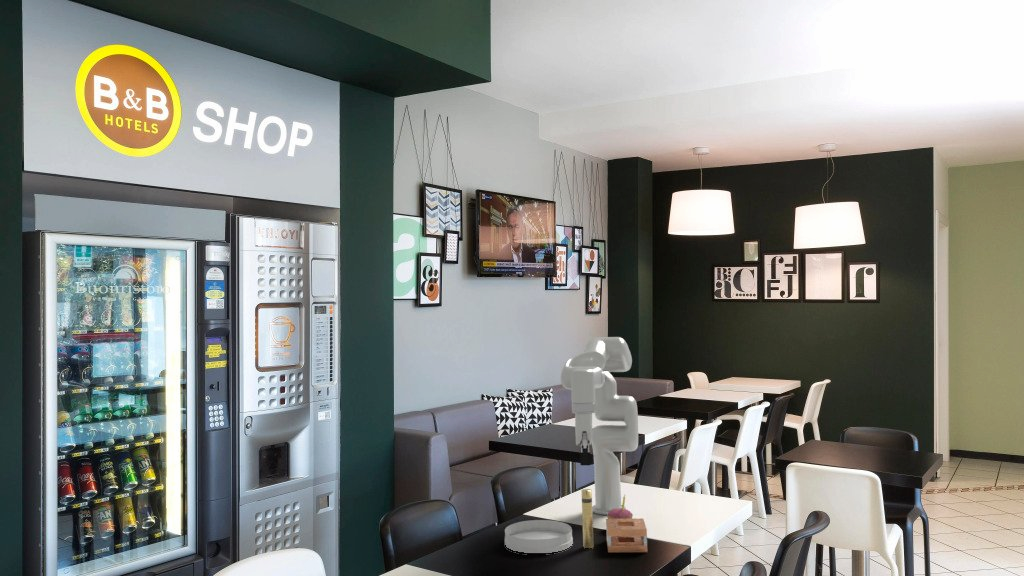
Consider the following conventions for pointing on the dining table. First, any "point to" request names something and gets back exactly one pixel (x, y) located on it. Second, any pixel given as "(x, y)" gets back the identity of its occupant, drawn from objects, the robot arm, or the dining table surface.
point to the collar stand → (626, 535)
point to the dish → (538, 536)
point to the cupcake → (620, 513)
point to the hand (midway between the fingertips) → (585, 462)
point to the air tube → (587, 518)
